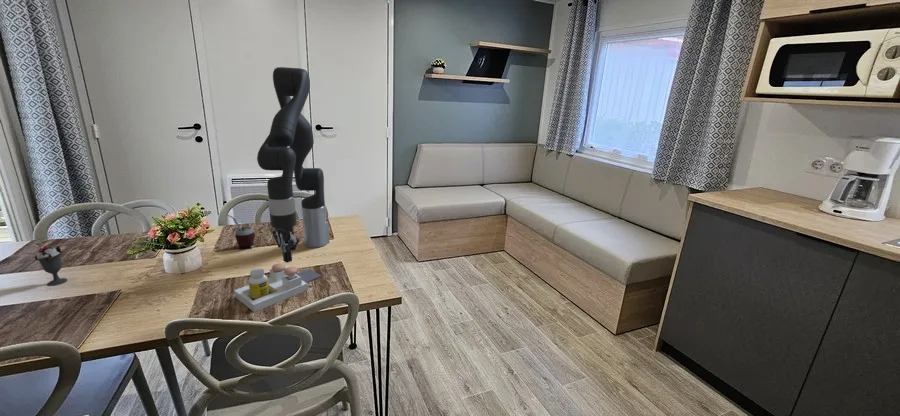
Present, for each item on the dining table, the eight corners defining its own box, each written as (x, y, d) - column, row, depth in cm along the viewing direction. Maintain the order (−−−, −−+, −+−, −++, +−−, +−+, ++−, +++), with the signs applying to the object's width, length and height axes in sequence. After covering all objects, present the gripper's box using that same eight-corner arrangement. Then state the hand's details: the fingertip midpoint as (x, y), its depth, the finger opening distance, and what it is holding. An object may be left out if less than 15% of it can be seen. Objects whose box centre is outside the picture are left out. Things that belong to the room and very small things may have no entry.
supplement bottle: (262, 303, 123) (258, 276, 120) (247, 301, 124) (243, 273, 121) (273, 295, 128) (269, 268, 125) (258, 292, 129) (254, 266, 126)
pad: (309, 269, 146) (309, 268, 145) (322, 276, 141) (321, 275, 141) (289, 277, 140) (289, 276, 140) (301, 284, 135) (301, 283, 135)
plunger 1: (282, 272, 137) (281, 262, 136) (288, 275, 134) (287, 265, 133) (271, 276, 134) (269, 266, 133) (277, 279, 132) (275, 269, 130)
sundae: (40, 288, 127) (25, 246, 123) (48, 279, 133) (35, 239, 128) (66, 284, 130) (54, 243, 126) (73, 276, 136) (61, 236, 131)
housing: (287, 277, 140) (286, 263, 138) (307, 289, 132) (306, 275, 130) (235, 297, 126) (233, 282, 124) (254, 312, 118) (252, 296, 117)
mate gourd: (259, 246, 164) (255, 212, 160) (241, 252, 158) (236, 217, 153) (249, 242, 168) (244, 209, 163) (231, 248, 162) (225, 214, 157)
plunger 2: (294, 275, 132) (292, 265, 130) (300, 279, 129) (299, 269, 128) (282, 280, 129) (281, 269, 128) (289, 284, 126) (288, 273, 125)
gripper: (305, 212, 120) (309, 263, 125) (283, 204, 128) (288, 252, 133) (281, 218, 115) (287, 271, 120) (260, 208, 123) (266, 259, 128)
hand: (287, 261), depth 127 cm, fingers closed
